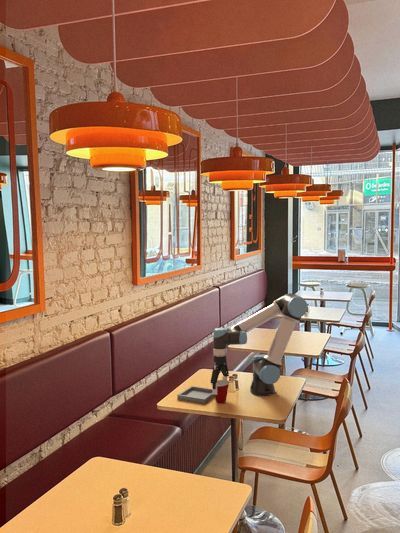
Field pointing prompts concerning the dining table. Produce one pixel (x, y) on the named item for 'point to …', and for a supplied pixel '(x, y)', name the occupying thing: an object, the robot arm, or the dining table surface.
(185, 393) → the tray
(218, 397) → the plastic cup
